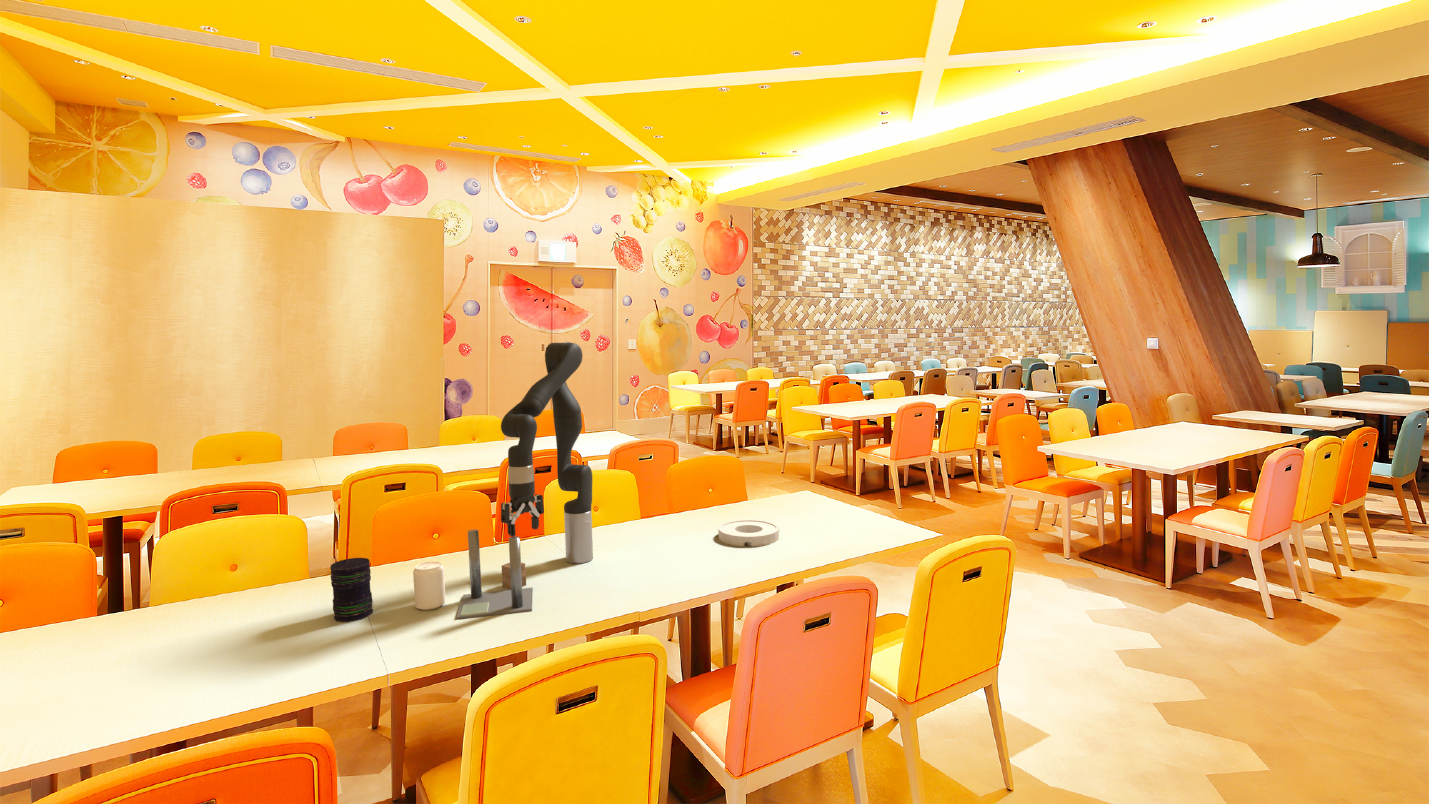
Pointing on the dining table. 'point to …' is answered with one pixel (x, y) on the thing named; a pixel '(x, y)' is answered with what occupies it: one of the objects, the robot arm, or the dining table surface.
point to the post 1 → (474, 564)
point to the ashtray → (748, 532)
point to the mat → (495, 603)
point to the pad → (476, 607)
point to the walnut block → (507, 578)
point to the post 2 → (515, 572)
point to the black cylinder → (351, 589)
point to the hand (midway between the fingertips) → (523, 532)
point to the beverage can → (429, 585)
